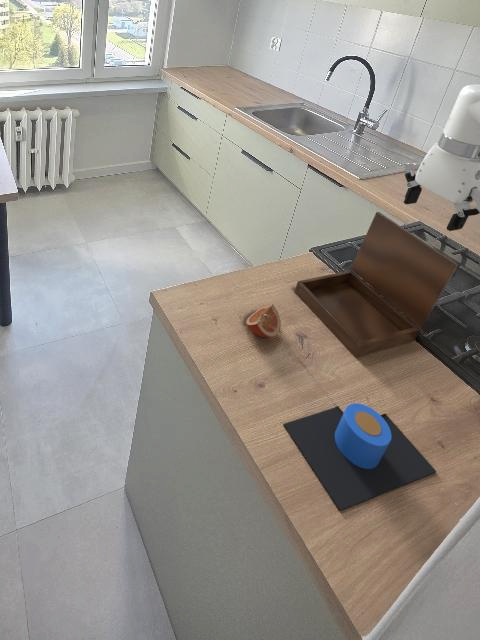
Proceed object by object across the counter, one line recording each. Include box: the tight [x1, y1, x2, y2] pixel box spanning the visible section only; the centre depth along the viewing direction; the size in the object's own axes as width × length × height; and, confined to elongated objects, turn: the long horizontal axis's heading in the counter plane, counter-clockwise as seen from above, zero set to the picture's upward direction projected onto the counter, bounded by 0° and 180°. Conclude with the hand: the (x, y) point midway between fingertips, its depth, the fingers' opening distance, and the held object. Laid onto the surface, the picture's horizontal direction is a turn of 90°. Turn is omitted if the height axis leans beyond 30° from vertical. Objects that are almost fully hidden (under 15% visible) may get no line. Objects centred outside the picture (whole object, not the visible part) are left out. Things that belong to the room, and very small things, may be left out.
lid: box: [350, 211, 459, 329], centre depth 96 cm, size 17×19×5 cm
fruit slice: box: [245, 303, 282, 338], centre depth 93 cm, size 8×7×5 cm
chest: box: [294, 269, 421, 359], centre depth 97 cm, size 17×19×4 cm
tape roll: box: [335, 402, 392, 469], centre depth 71 cm, size 7×7×6 cm
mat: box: [283, 406, 438, 512], centre depth 72 cm, size 20×13×1 cm, turn 106°
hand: (430, 215), depth 91 cm, fingers open, 9 cm apart
